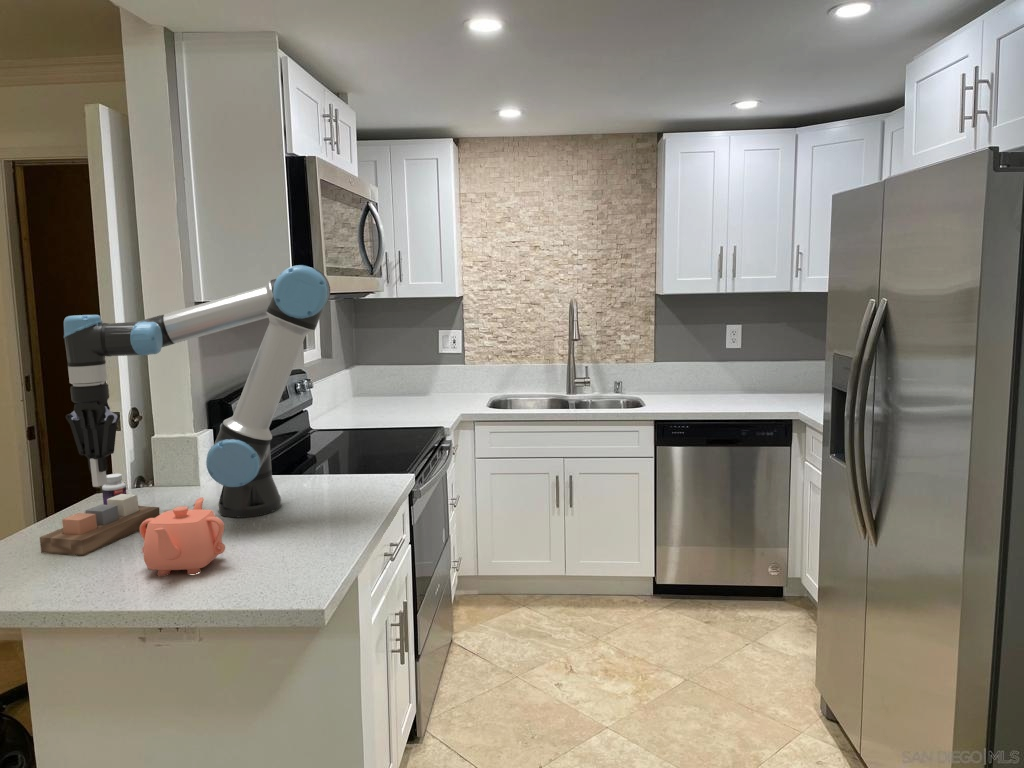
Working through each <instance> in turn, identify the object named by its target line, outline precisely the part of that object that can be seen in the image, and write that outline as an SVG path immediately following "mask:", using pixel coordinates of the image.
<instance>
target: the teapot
mask: <svg viewBox="0 0 1024 768" xmlns="http://www.w3.org/2000/svg"><path fill="white" fill-rule="evenodd" d="M204 500H205V498H204V497H199V498H198V499H196V500H195V503H194V504H193V505H194V506H193V509H189V506H177V507H174V508H172V510H165V511H164V512H162V513H160V515H158V516H157V517H155V518H149V519H146V520H145V521H143V522H142V524H141V525H140V530H139V534H140V537H142V540H143V541H144V542H143V546H142V549H141V550H142V554H143V562H144V564H145V565H146V567H147V569H149V570H153V571H157V573H156V576H157V575H158V576H157V577H164V576H163V575H165V576H168V575H170V574H171V573H170V572H171V571H181V570H182V571H184V570H185V571H187V573H186V574H187V575H188V574H196V573H198V572H200V571H201V569H202V568H205V567H206V566H208V565H209V564H211V563H212V562H213V561H214V559H216V557H218V556H219V555H221V554H223V553H224V552H225V550H226V545H225V543H224V542H223V540H222V539H223V535H224V532H225V523H224V521H223V520H222V519H221V518H219V517H217V516H216V515H215V513H214V511H213V509H203V506H204V505H203V504H204ZM146 524H148V525H147V527H146ZM212 560H213V561H212ZM211 561H212V562H211ZM210 562H211V563H210ZM201 572H202V571H201ZM169 573H170V574H169ZM167 574H168V575H167Z"/></svg>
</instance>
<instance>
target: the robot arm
mask: <svg viewBox="0 0 1024 768" xmlns="http://www.w3.org/2000/svg"><path fill="white" fill-rule="evenodd" d="M330 296H331V286H330V283H329V280H328V278H327V277H326V276H325V275H324V273H323V272H321V271H320V270H319V269H317V268H314V267H310V266H308V265H306V264H305V265H304V264H298V265H297V264H296V265H293V266H292V265H291V266H290V267H288V268H286V269H284V270H283V271H282V272H281V273H280V274H279V275H277V278H275V279H274V278H273V279H270V280H269V281H268V282H267V284H266V285H264V286H261V287H257V288H254V289H249V290H247V291H242V292H239V293H235V294H232V295H229V296H225V297H221V298H218V299H214V300H211V301H206V302H204V303H200V304H196V305H191V306H190V307H189V306H188V307H185V308H182V309H181V308H180V309H178V310H174V311H170V312H167V313H165V314H160V315H157V316H153V317H148V318H146V319H141V320H136V321H129V322H127V321H126V322H112V323H111V322H110V323H109V322H108V323H107V322H103V321H102V317H101V316H100V315H99V314H82V315H81V314H79V315H78V314H77V315H75V314H74V315H68V316H66V317H65V318H64V320H63V339H64V345H65V346H64V347H65V351H66V354H65V355H66V360H67V371H68V378H69V380H68V381H69V382H68V383H69V384H71V386H70V388H69V390H70V398H71V402H73V403H74V407H73V411H71V413H68V414H65V419H66V421H67V423H68V424H69V425H70V429H71V433H72V434H73V438H74V439H73V440H74V442H75V445H76V448H77V452H78V455H80V456H85V457H86V458H87V463H88V470H89V472H90V474H91V482H92V487H93V488H99V487H102V486H103V485H105V484H107V477H106V475H107V471H108V460H107V458H108V456H110V455H113V454H114V453H115V445H116V436H117V435H116V434H117V428H118V427H117V425H118V422H119V420H120V417H121V415H120V413H114V412H113V411H111V408H110V405H109V404H108V401H109V399H110V391H109V384H108V382H107V381H108V374H107V373H108V372H107V366H106V365H107V363H106V357H121V356H122V357H123V356H130V357H131V356H141V357H142V356H143V357H145V356H149V355H150V356H151V355H157V354H159V353H160V352H161V350H162V348H165V347H168V346H171V345H175V344H179V343H181V342H186V341H189V340H193V339H196V338H201V337H202V336H203V337H204V336H207V335H210V334H214V333H217V332H222V331H225V330H228V329H232V328H235V327H239V326H242V325H246V324H250V323H253V322H257V321H260V320H264V319H268V321H269V323H268V326H267V328H266V331H265V333H264V335H263V339H262V341H261V343H260V346H259V349H258V351H257V354H256V356H255V358H254V361H253V363H252V366H251V369H250V371H249V374H248V376H247V379H246V382H245V384H244V386H243V388H242V392H241V395H240V397H239V399H238V402H237V403H236V404H237V405H236V407H235V409H234V412H233V415H232V416H230V417H228V418H226V419H224V420H223V421H222V423H221V424H220V425H219V432H218V434H217V436H216V439H215V441H214V443H213V445H212V446H211V447H210V449H208V452H207V455H206V461H205V463H206V464H205V465H206V469H207V472H208V474H209V476H210V477H211V478H212V479H213V480H214V481H215V482H216V483H217V484H220V485H221V486H222V489H221V493H220V496H219V501H218V505H217V506H218V513H219V515H221V516H223V517H227V518H249V517H250V518H251V517H252V518H253V517H258V516H263V515H267V514H270V513H273V512H276V511H278V510H279V509H280V508H281V507H282V499H281V495H280V494H279V491H278V489H277V485H276V483H275V481H274V478H273V472H272V459H271V457H272V455H271V442H272V439H273V435H272V433H271V430H270V426H271V424H272V421H273V418H274V416H275V413H276V411H277V409H278V406H279V404H280V401H281V399H282V396H283V393H284V390H285V388H286V386H287V383H288V381H289V378H290V376H291V372H292V371H293V368H294V366H295V363H296V361H297V359H298V357H299V353H300V351H301V348H302V346H303V343H304V340H305V338H306V336H307V335H309V334H311V333H314V332H315V331H316V328H317V326H318V324H319V322H320V318H321V316H322V313H323V311H324V308H325V307H326V305H327V304H328V302H329V300H330ZM106 382H107V383H106ZM280 506H281V507H280ZM278 508H279V509H278Z"/></svg>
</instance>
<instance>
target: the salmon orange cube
mask: <svg viewBox="0 0 1024 768" xmlns="http://www.w3.org/2000/svg"><path fill="white" fill-rule="evenodd" d="M61 520H62V521H61V522H62V528H63V532H64V534H73V535H82V534H85V533H87V532H89V531H92V530H94V529H97V523H96V514H88V513H86V512H77V513H74V514H72V515H69V516H68V517H65V518H62V519H61Z"/></svg>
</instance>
